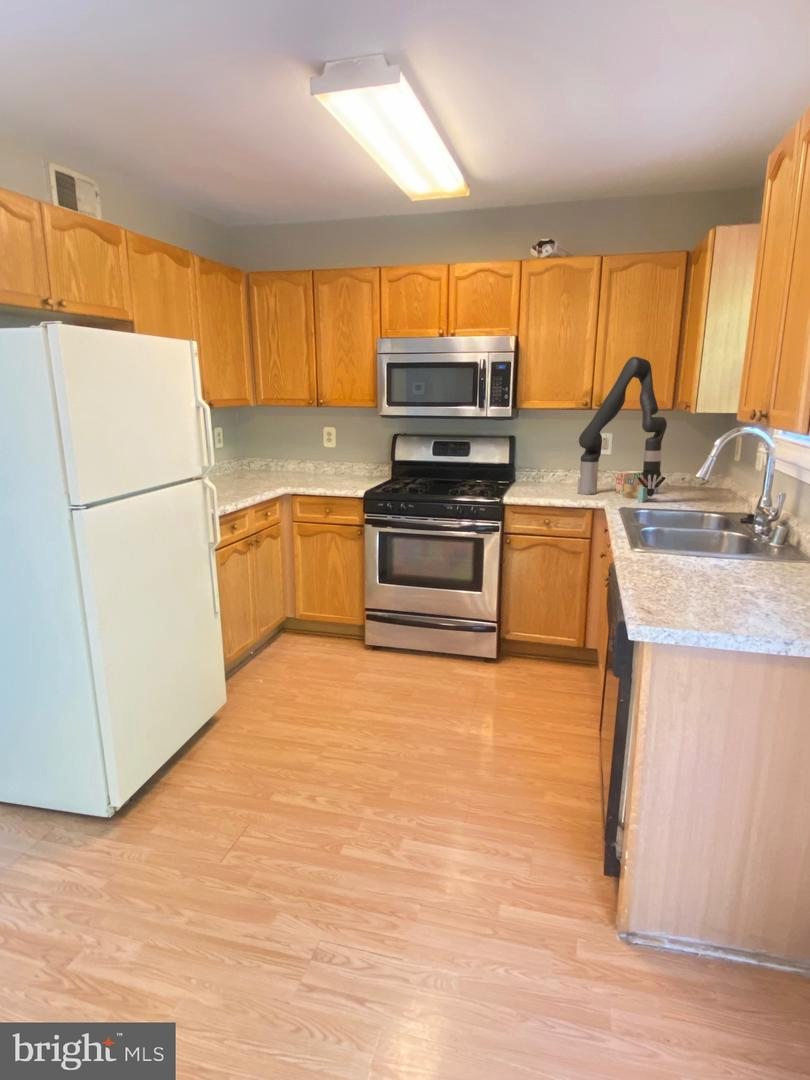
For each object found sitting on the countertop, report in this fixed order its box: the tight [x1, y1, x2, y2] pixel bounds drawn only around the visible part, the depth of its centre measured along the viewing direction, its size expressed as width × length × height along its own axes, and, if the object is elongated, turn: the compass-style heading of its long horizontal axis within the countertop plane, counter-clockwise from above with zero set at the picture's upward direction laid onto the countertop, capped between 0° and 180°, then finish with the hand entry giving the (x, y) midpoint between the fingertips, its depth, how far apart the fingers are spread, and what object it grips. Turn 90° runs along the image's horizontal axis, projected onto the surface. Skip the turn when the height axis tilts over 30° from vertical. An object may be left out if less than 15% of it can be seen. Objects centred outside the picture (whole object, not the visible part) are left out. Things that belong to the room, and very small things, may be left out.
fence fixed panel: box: [622, 484, 647, 500], centre depth 298 cm, size 12×2×8 cm, turn 55°
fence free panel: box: [637, 487, 649, 504], centre depth 290 cm, size 10×2×7 cm, turn 144°
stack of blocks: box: [615, 470, 660, 496], centre depth 315 cm, size 21×6×12 cm, turn 104°
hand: (650, 496), depth 286 cm, fingers closed
